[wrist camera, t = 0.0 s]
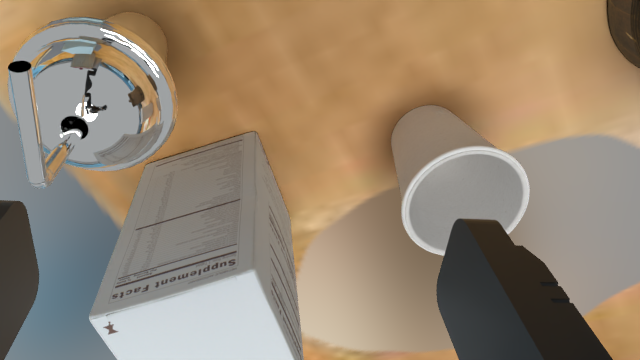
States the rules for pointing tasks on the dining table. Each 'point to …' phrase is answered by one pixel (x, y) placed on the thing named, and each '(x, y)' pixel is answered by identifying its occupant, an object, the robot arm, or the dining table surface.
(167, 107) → the cup with straw
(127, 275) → the supplement box
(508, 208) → the dixie cup
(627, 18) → the wooden container
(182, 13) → the dining table surface
